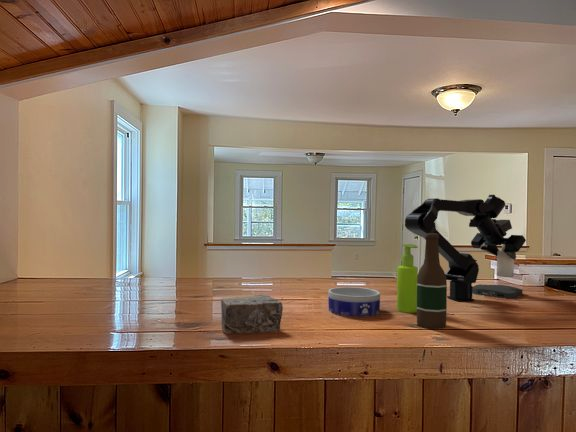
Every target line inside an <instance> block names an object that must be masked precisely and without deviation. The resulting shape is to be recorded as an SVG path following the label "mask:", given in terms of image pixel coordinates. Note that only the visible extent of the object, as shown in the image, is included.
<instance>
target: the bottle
mask: <svg viewBox="0 0 576 432" xmlns="http://www.w3.org/2000/svg"><path fill="white" fill-rule="evenodd" d="M504 249H505V244H502V245H501V250H499V251H497V256H496V276H497V277H500V278H501V277H503V278H514V271H515V270H514V269H515V260H514V259H512V258H511V257H510V256H508V255H507V254H506V253H504V252H503V251H504Z"/></svg>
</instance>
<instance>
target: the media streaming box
mask: <svg viewBox="0 0 576 432" xmlns="http://www.w3.org/2000/svg"><path fill="white" fill-rule="evenodd" d="M472 286H473V285H472ZM523 290H524V289H523V288H519V287H515V286H510V285H505V284H476V285H474V286H473V293H472V294H474V295H478V296H479V295H480V296H483V295H484V297H491V298H499V299H508V300H509V299H511V300H512V299H516V298H519V297H522V296H523V295H524V294H523Z"/></svg>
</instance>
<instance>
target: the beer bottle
mask: <svg viewBox="0 0 576 432" xmlns="http://www.w3.org/2000/svg"><path fill="white" fill-rule="evenodd" d="M425 238H426V240H425V247H424V248H425V249H424V260H423V264H422V266H421V267H420V268H419V269H418V276H417V312H416V325H417V327H420V328H424V329H427V330H441V329H446V327H447V296H448V292H447V290H448V289H447V288H448V287H447V285H448V284H447V283H448V282H447V281H448V280H446V276H445V274H446V272H445V270H444V269H443V267H442V266H441V263H440V262H441V261H440V253H439V246H438V239H439V234H437V233H427V234H426V235H425Z"/></svg>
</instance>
